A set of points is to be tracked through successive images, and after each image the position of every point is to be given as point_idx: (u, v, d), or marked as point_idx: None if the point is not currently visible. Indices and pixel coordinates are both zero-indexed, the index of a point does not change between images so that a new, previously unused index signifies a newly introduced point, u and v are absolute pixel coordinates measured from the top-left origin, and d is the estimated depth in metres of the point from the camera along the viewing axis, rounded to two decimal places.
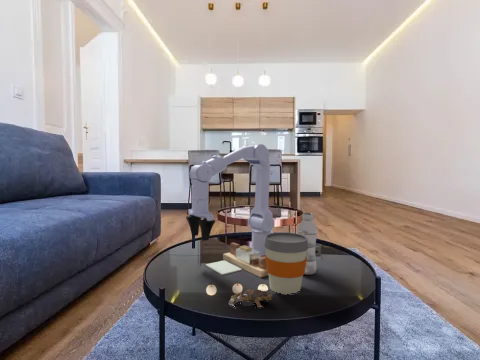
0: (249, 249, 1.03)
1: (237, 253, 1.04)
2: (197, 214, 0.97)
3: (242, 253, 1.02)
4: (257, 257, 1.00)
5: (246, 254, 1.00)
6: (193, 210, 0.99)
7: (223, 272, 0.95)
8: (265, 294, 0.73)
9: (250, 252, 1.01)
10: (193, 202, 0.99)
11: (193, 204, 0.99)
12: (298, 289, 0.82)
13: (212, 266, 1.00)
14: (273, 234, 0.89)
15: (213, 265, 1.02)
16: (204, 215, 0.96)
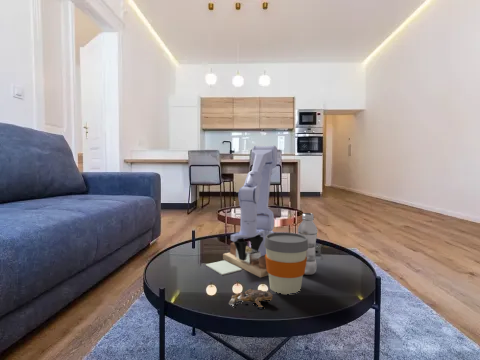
0: (249, 249, 1.03)
1: (237, 253, 1.04)
2: None
3: None
4: (257, 257, 1.00)
5: (246, 254, 1.00)
6: None
7: (223, 272, 0.95)
8: (265, 294, 0.73)
9: (250, 252, 1.01)
10: None
11: None
12: (298, 289, 0.82)
13: (212, 266, 1.00)
14: (273, 234, 0.89)
15: (213, 265, 1.02)
16: None
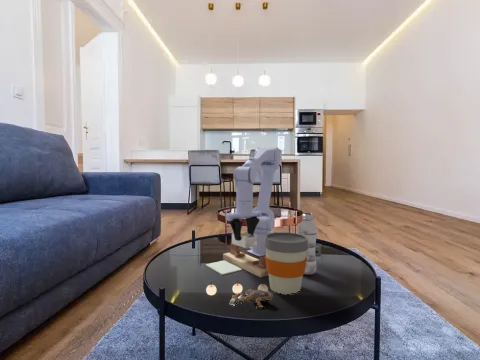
0: (245, 233, 1.02)
1: (232, 238, 1.03)
2: None
3: None
4: (253, 241, 0.99)
5: (242, 238, 0.99)
6: None
7: (223, 272, 0.95)
8: (266, 294, 0.73)
9: (246, 236, 1.00)
10: None
11: None
12: (298, 289, 0.82)
13: (212, 266, 1.00)
14: (273, 234, 0.89)
15: (213, 265, 1.02)
16: None
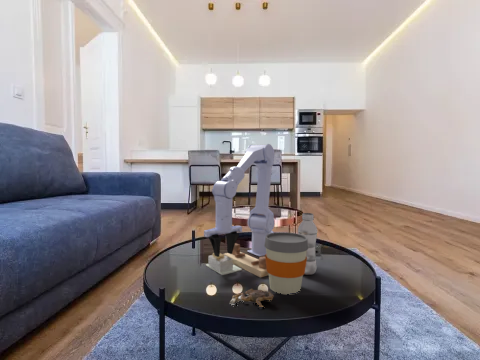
0: (221, 256, 0.99)
1: (209, 260, 1.01)
2: None
3: (213, 261, 0.98)
4: (229, 265, 0.97)
5: (217, 262, 0.96)
6: None
7: (223, 272, 0.95)
8: (266, 294, 0.74)
9: (221, 259, 0.97)
10: None
11: None
12: (298, 289, 0.82)
13: None
14: (273, 234, 0.89)
15: None
16: None
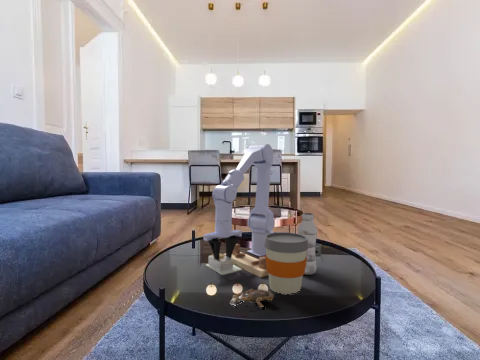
0: (221, 256, 0.99)
1: (209, 260, 1.01)
2: None
3: (213, 261, 0.98)
4: (229, 265, 0.97)
5: (217, 262, 0.96)
6: None
7: (223, 272, 0.95)
8: (266, 294, 0.74)
9: (221, 259, 0.97)
10: None
11: None
12: (298, 289, 0.82)
13: None
14: (273, 234, 0.89)
15: None
16: None
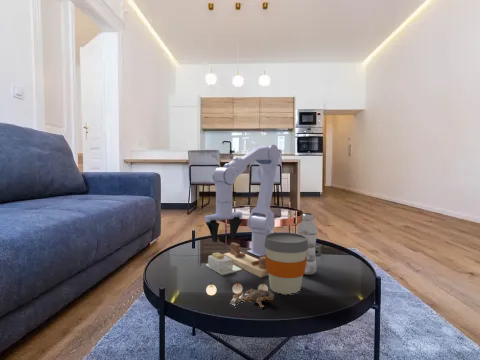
0: (221, 256, 0.99)
1: (209, 260, 1.01)
2: None
3: (213, 261, 0.98)
4: (228, 265, 0.97)
5: (217, 262, 0.96)
6: None
7: (223, 272, 0.95)
8: (267, 294, 0.74)
9: (221, 259, 0.97)
10: None
11: None
12: (298, 289, 0.82)
13: None
14: (273, 234, 0.89)
15: None
16: None
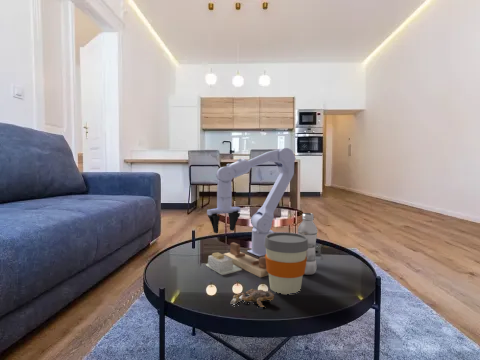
0: (221, 256, 0.99)
1: (209, 260, 1.01)
2: None
3: (213, 261, 0.98)
4: (228, 265, 0.97)
5: (217, 262, 0.96)
6: None
7: (223, 272, 0.95)
8: (267, 294, 0.74)
9: (221, 259, 0.97)
10: None
11: None
12: (298, 289, 0.82)
13: None
14: (273, 234, 0.89)
15: None
16: None
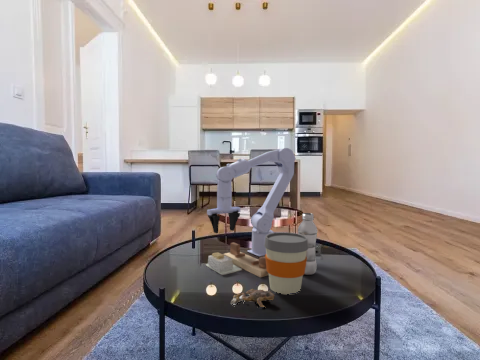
0: (221, 256, 0.99)
1: (209, 260, 1.01)
2: None
3: (213, 261, 0.98)
4: (228, 265, 0.97)
5: (217, 262, 0.96)
6: None
7: (223, 272, 0.95)
8: (267, 294, 0.74)
9: (221, 259, 0.97)
10: None
11: None
12: (298, 289, 0.82)
13: None
14: (273, 234, 0.89)
15: None
16: None
